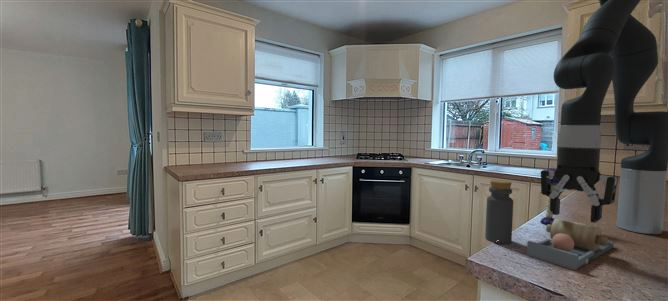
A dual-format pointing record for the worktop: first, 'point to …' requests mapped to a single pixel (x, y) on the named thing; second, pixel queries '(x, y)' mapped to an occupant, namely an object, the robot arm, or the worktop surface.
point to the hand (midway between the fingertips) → (574, 217)
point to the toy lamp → (549, 215)
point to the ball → (563, 242)
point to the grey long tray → (564, 254)
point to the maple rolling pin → (578, 234)
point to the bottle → (499, 213)
